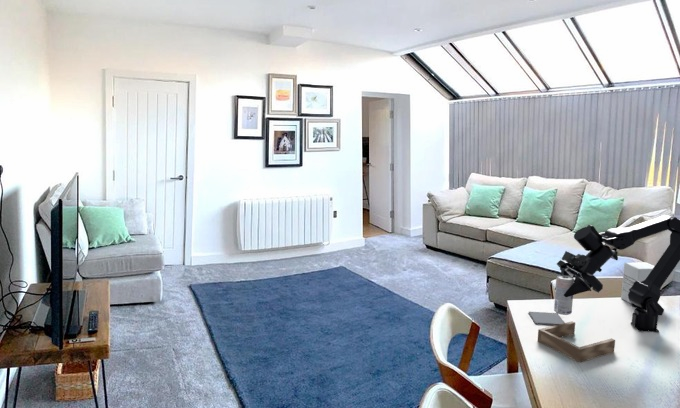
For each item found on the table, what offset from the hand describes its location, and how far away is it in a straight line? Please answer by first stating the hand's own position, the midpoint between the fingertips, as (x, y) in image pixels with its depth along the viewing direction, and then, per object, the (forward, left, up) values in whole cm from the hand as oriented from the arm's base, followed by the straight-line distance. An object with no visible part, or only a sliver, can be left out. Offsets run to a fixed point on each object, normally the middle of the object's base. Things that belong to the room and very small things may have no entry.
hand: (560, 293), depth 161 cm
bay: (-2, +11, -13) cm, 17 cm away
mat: (+1, -10, -13) cm, 17 cm away
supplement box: (-39, -33, -14) cm, 53 cm away
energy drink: (-1, 0, -7) cm, 7 cm away
